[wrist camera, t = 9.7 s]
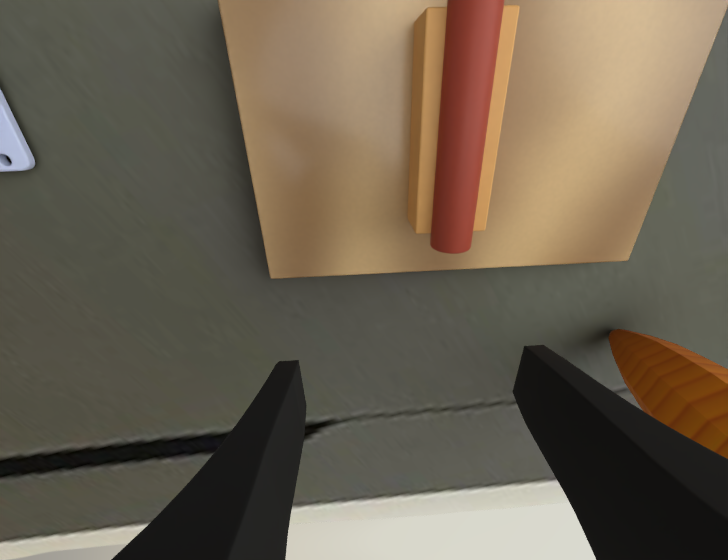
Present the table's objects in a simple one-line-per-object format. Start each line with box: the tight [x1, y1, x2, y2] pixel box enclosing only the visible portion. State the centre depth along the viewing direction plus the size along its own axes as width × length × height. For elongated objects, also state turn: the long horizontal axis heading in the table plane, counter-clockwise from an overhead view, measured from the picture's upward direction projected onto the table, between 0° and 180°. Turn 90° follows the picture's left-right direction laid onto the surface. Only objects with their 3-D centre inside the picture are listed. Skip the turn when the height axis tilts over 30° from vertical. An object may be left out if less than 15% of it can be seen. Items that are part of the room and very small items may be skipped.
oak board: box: [218, 0, 728, 279], centre depth 16 cm, size 20×12×1 cm, turn 92°
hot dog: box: [408, 0, 520, 254], centre depth 13 cm, size 3×9×3 cm, turn 2°
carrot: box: [609, 329, 728, 459], centre depth 16 cm, size 5×5×15 cm
